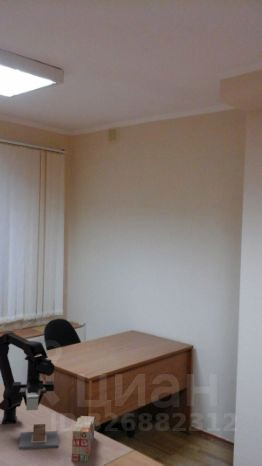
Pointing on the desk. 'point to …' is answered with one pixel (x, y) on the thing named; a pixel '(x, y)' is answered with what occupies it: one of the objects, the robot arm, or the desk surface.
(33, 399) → the sage block
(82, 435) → the stack of blocks
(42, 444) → the blueprint board
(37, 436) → the walnut block
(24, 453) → the desk surface
